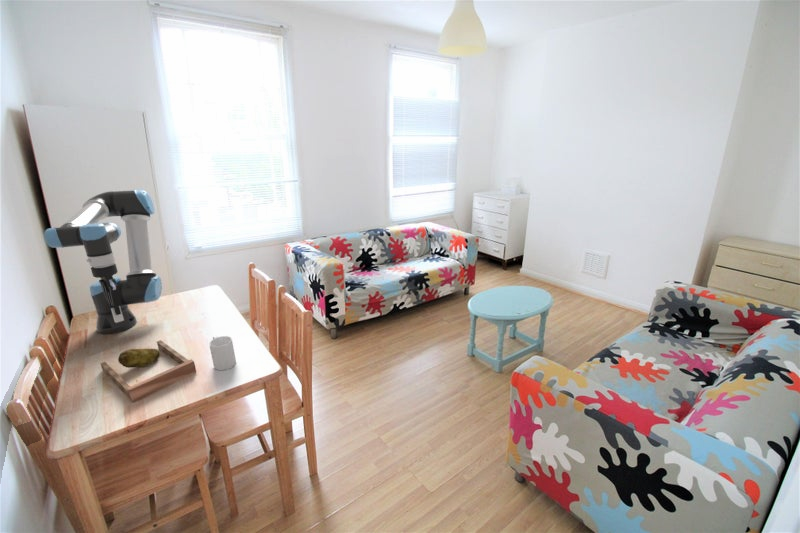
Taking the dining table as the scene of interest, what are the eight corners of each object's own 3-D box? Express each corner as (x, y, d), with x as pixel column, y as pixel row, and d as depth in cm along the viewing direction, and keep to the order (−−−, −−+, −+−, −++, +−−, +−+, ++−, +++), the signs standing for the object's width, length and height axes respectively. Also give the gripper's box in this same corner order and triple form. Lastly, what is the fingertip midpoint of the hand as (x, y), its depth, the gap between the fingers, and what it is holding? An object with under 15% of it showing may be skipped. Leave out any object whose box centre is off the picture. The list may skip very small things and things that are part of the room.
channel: (102, 371, 141) (99, 360, 139) (162, 347, 157) (159, 337, 155) (133, 402, 124) (129, 390, 122) (196, 372, 140) (193, 361, 138)
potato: (162, 365, 145) (157, 347, 142) (121, 376, 138) (116, 358, 135) (160, 355, 151) (156, 338, 148) (122, 365, 144) (117, 348, 142)
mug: (239, 364, 144) (235, 341, 141) (218, 373, 139) (213, 349, 136) (228, 352, 153) (223, 330, 149) (207, 360, 147) (202, 337, 144)
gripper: (85, 264, 140) (102, 320, 147) (96, 271, 132) (114, 329, 140) (108, 259, 145) (124, 313, 153) (121, 265, 138) (136, 321, 146)
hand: (119, 321), depth 146 cm, fingers closed
